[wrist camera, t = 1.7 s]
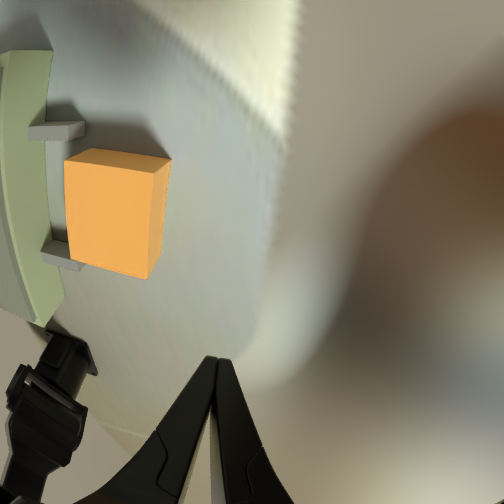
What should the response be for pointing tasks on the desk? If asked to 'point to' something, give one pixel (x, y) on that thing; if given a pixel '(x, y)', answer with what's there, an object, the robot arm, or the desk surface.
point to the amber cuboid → (116, 209)
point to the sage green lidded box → (29, 190)
